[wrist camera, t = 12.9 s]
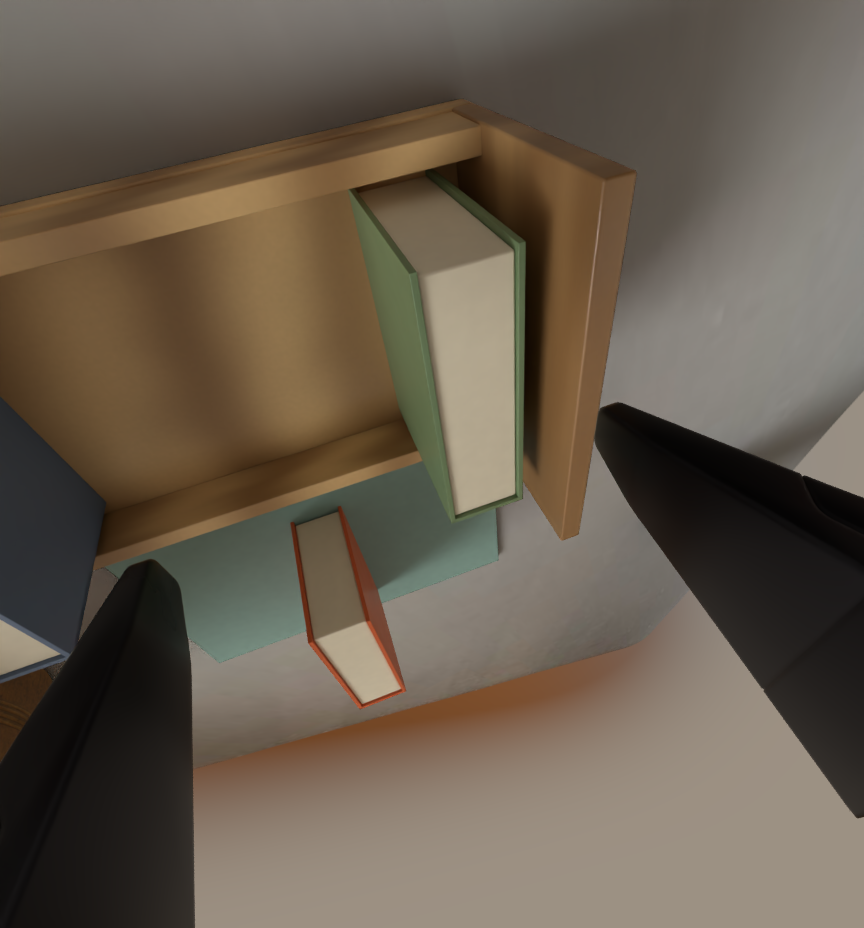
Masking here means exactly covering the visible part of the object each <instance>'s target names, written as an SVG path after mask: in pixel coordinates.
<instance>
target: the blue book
mask: <svg viewBox="0 0 864 928" xmlns="http://www.w3.org/2000/svg"><path fill="white" fill-rule="evenodd" d="M105 507H106V501H105V500H104V499H103V498H102V497H101V496H100V495H99V494H98V493H97V492H96V491H95V490H94V489H93V488H92V487H91V486H90V485H89V484H88V483H87V482H86V481H85V480H84V479H83V478H82V477H81V476H80V475H79V474H78V473H77V472H76V471H75V470H74V469H73V468H72V467H71V466H70V465H69V464H68V463H67V462H66V461H65V460H64V459H63V458H62V457H61V456H60V455H59V454H58V453H57V452H56V451H55V450H54V449H53V448H52V447H51V446H50V445H49V444H48V443H47V442H46V441H45V440H44V439H43V438H42V437H41V436H40V435H39V434H38V433H37V432H36V431H35V430H34V429H33V428H32V427H31V426H30V425H29V424H28V423H27V422H25V421H24V420H23V419H22V418H21V417H20V416H19V415H18V414H17V413H16V412H15V411H14V410H13V409H12V408H11V407H10V406H9V405H8V404H7V403H6V402H5V401H4V400H3V399H2V398H1V397H0V683H3V682H6V681H9V680H11V679H14V678H17V677H20V676H23V675H26V674H28V673H31V672H34V671H37V670H40V669H43V668H45V667H48V666H51V665H54V664H57V663H59V662H62V661H65V660H67V659H68V657H69V655H70V654H71V652H72V651H73V649H74V648H75V646H76V645H77V643H78V640H79V635H80V630H81V625H82V620H83V615H84V611H85V606H86V601H87V596H88V591H89V586H90V581H91V576H92V571H93V566H94V561H95V557H96V552H97V547H98V542H99V537H100V532H101V527H102V522H103V517H104V512H105Z"/></svg>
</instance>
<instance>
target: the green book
mask: <svg viewBox="0 0 864 928" xmlns="http://www.w3.org/2000/svg"><path fill="white" fill-rule="evenodd" d="M425 173H426V176H423V177H419V178H415V179H411V180H407V181H404V182H400V183H396V184H392V185H388V186H384V187H380V188H376V189H372V190H368V191H364V192H360V193H358V192H357V191H356V190H355V188H352V189H348V193H349V197H350V201H351V205H352V210H353V214H354V218H355V222H356V227H357V231H358V235H359V240H360V244H361V248H362V252H363V257H364V261H365V265H366V269H367V274H368V278H369V282H370V286H371V291H372V295H373V299H374V303H375V308H376V312H377V316H378V321H379V325H380V329H381V333H382V338H383V342H384V346H385V350H386V355H387V359H388V363H389V367H390V372H391V376H392V380H393V384H394V389H395V393H396V397H397V402H398V406H399V410H400V412H401V414H402V416H403V419H404V421H405V423H406V425H407V427H408V430H409V432H410V434H411V436H412V438H413V441H414V443H415V445H416V447H417V449H418V452H419V454H420V456H421V458H422V460H423V463H424V465H425V467H426V469H427V471H428V474H429V476H430V478H431V480H432V482H433V485H434V487H435V489H436V491H437V493H438V496H439V498H440V500H441V502H442V504H443V507H444V509H445V511H446V513H447V515H448V518H449V520H450V522H451V524H453V523H456V522H459V521H461V520H464V519H467V518H470V517H473V516H476V515H478V514H481V513H484V512H487V511H490V510H493V509H495V508H498V507H501V506H504V505H507V504H510V503H512V502H515V501H518V500H521V499H523V427H524V347H525V266H526V241H525V240H523V239H522V238H521V237H520V236H518V235H517V234H516V233H514V232H513V231H512V230H511V229H509V228H508V227H507V226H505V225H504V224H503V223H502V222H500V221H499V220H498V219H497V218H495V217H494V216H493V215H491V214H490V213H489V212H488V211H486V210H485V209H484V208H483V207H481V206H480V205H479V204H477V203H476V202H475V201H474V200H472V199H471V198H470V197H468V196H467V195H466V194H465V193H463V192H462V191H461V190H460V189H458V188H457V187H456V186H454V185H453V184H452V183H451V182H449V181H448V180H447V179H445V178H444V177H443V176H442V175H440V174H439V173H438V172H437V171H435V170H434V169H433V168H431V169H427V170H425Z"/></svg>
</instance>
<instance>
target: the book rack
mask: <svg viewBox="0 0 864 928" xmlns="http://www.w3.org/2000/svg"><path fill="white" fill-rule="evenodd" d="M431 168H433V169H434V170H435V171H437V172H438V173H439V174H440V175H442V176H443V177H444V178H445V179H447V180H448V181H449V182H451V183H452V184H453V185H454V186H456V187H457V188H458V189H460V190H461V191H462V192H463V193H465V194H466V195H467V196H468V197H470V198H471V199H472V200H474V201H475V202H476V203H477V204H479V205H480V206H481V207H483V208H484V209H485V210H486V211H488V212H489V213H490V214H491V215H493V216H494V217H495V218H497V219H498V220H499V221H500V222H502V223H503V224H504V225H505V226H507V227H508V228H509V229H511V230H512V231H513V232H514V233H516V234H517V235H518V236H520V237H521V238H522V239H523V240H525V241H526V266H525V347H524V427H523V482H524V483H525V485H526V487H527V488H528V490H529V491H530V493H531V494H532V496H533V498H534V499H535V501H536V502H537V504H538V505H539V507H540V508H541V510H542V512H543V513H544V515H545V516H546V518H547V519H548V521H549V522H550V524H551V526H552V527H553V529H554V530H555V532H556V533H557V535H558V536H559V538H560V540H565V539H568V538H571V537H573V536H576V535H578V534H579V529H580V523H581V517H582V510H583V504H584V498H585V492H586V486H587V479H588V473H589V467H590V461H591V455H592V449H593V442H594V434H595V428H596V421H597V415H598V411H599V405H600V399H601V393H602V387H603V380H604V374H605V368H606V362H607V356H608V349H609V343H610V337H611V331H612V325H613V319H614V312H615V306H616V300H617V294H618V288H619V281H620V275H621V269H622V263H623V257H624V250H625V244H626V238H627V232H628V226H629V219H630V213H631V207H632V201H633V195H634V189H635V182H636V176H637V172H636V170H633V169H631V168H628V167H626V166H623V165H621V164H619V163H616V162H614V161H611V160H609V159H607V158H604V157H602V156H599V155H597V154H595V153H592V152H590V151H587V150H585V149H582V148H580V147H578V146H575V145H573V144H570V143H568V142H566V141H563V140H561V139H558V138H556V137H554V136H551V135H549V134H546V133H544V132H541V131H539V130H537V129H534V128H532V127H529V126H527V125H525V124H522V123H520V122H517V121H515V120H513V119H510V118H508V117H505V116H503V115H500V114H498V113H496V112H493V111H491V110H488V109H486V108H484V107H481V106H479V105H476V104H474V103H472V102H469V101H467V100H464V99H458V100H454V101H449V102H445V103H441V104H436V105H432V106H428V107H424V108H419V109H415V110H411V111H406V112H402V113H398V114H394V115H389V116H385V117H381V118H376V119H372V120H368V121H364V122H359V123H355V124H351V125H347V126H342V127H338V128H334V129H329V130H325V131H321V132H317V133H312V134H308V135H304V136H299V137H295V138H291V139H287V140H282V141H278V142H274V143H269V144H265V145H261V146H257V147H252V148H248V149H244V150H240V151H235V152H231V153H227V154H222V155H218V156H214V157H210V158H205V159H201V160H197V161H192V162H188V163H184V164H180V165H175V166H171V167H167V168H162V169H158V170H154V171H150V172H145V173H141V174H137V175H132V176H128V177H124V178H120V179H115V180H111V181H107V182H103V183H98V184H94V185H90V186H85V187H81V188H77V189H73V190H68V191H64V192H60V193H55V194H51V195H47V196H43V197H38V198H34V199H30V200H25V201H21V202H17V203H13V204H8V205H4V206H0V397H1V398H2V399H3V400H4V401H5V402H6V403H7V404H8V405H9V406H10V407H11V408H12V409H13V410H14V411H15V412H16V413H17V414H18V415H19V416H20V417H21V418H22V419H23V420H24V421H25V422H27V423H28V424H29V425H30V426H31V427H32V428H33V429H34V430H35V431H36V432H37V433H38V434H39V435H40V436H41V437H42V438H43V439H44V440H45V441H46V442H47V443H48V444H49V445H50V446H51V447H52V448H53V449H54V450H55V451H56V452H57V453H58V454H59V455H60V456H61V457H62V458H63V459H64V460H65V461H66V462H67V463H68V464H69V465H70V466H71V467H72V468H73V469H74V470H75V471H76V472H77V473H78V474H79V475H80V476H81V477H82V478H83V479H84V480H85V481H86V482H87V483H88V484H89V485H90V486H91V487H92V488H93V489H94V490H95V491H96V492H97V493H98V494H99V495H100V496H101V497H102V498H103V499H104V500H105V501H106V507H105V512H104V517H103V522H102V527H101V532H100V537H99V542H98V547H97V552H96V557H95V561H94V566H93V570H96V569H99V568H102V567H105V566H108V565H111V564H114V563H117V562H120V561H123V560H126V559H129V558H132V557H135V556H138V555H141V554H145V553H148V552H151V551H154V550H157V549H160V548H163V547H166V546H169V545H172V544H175V543H178V542H181V541H184V540H187V539H190V538H193V537H196V536H199V535H202V534H205V533H208V532H211V531H214V530H217V529H220V528H223V527H226V526H229V525H232V524H235V523H238V522H241V521H244V520H247V519H250V518H253V517H256V516H259V515H262V514H265V513H268V512H271V511H274V510H277V509H280V508H283V507H286V506H289V505H292V504H295V503H298V502H301V501H304V500H307V499H310V498H313V497H316V496H319V495H322V494H325V493H328V492H331V491H334V490H337V489H340V488H343V487H346V486H349V485H352V484H355V483H358V482H361V481H364V480H367V479H370V478H373V477H376V476H379V475H382V474H385V473H388V472H391V471H394V470H397V469H400V468H403V467H406V466H409V465H412V464H415V463H418V462H421V461H423V460H422V458H421V456H420V454H419V452H418V449H417V447H416V445H415V443H414V441H413V438H412V436H411V434H410V432H409V430H408V427H407V425H406V423H405V421H404V419H403V416H402V414H401V412H400V410H399V406H398V402H397V397H396V393H395V389H394V384H393V380H392V376H391V372H390V367H389V363H388V359H387V355H386V350H385V346H384V342H383V338H382V333H381V329H380V325H379V321H378V316H377V312H376V308H375V303H374V299H373V295H372V291H371V286H370V282H369V278H368V274H367V269H366V265H365V261H364V257H363V252H362V248H361V244H360V240H359V235H358V231H357V227H356V222H355V218H354V214H353V210H352V205H351V201H350V197H349V193H348V189H352V188H355V190H356V191H357V192H358V193H360V192H364V191H368V190H372V189H376V188H380V187H384V186H388V185H392V184H396V183H400V182H404V181H407V180H411V179H415V178H419V177H423V176H426V173H425V170H427V169H431Z"/></svg>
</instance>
